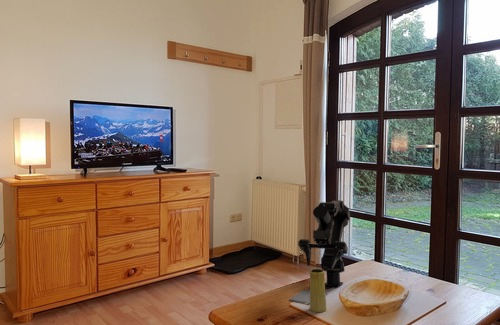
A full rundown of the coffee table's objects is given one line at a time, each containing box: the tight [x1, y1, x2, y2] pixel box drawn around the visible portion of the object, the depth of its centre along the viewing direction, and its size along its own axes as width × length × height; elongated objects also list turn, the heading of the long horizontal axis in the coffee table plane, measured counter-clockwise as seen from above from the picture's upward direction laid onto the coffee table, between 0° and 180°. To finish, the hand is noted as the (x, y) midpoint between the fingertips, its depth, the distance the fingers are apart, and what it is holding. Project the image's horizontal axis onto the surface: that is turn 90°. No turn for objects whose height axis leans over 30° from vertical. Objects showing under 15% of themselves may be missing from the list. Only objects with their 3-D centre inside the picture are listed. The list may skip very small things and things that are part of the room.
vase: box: [309, 268, 328, 313], centre depth 145 cm, size 6×6×14 cm
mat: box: [289, 289, 310, 305], centre depth 158 cm, size 13×10×1 cm
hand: (319, 266), depth 152 cm, fingers open, 9 cm apart
